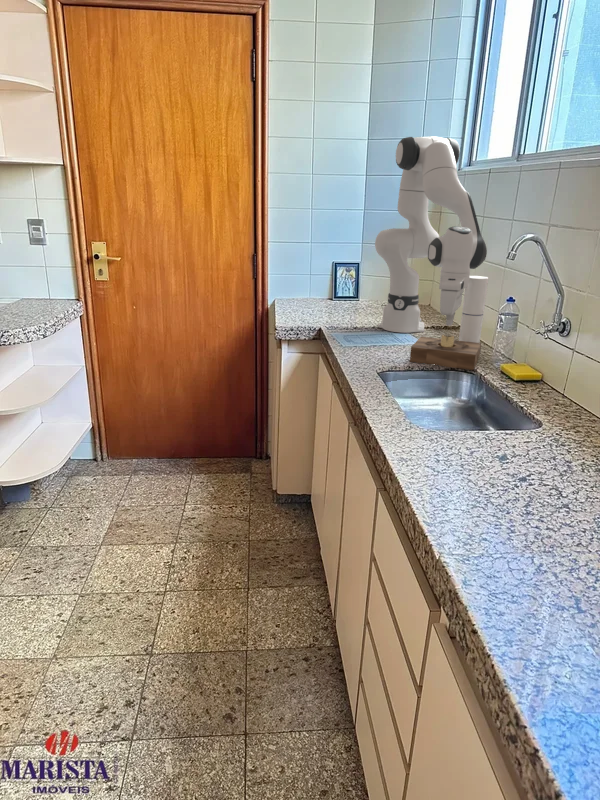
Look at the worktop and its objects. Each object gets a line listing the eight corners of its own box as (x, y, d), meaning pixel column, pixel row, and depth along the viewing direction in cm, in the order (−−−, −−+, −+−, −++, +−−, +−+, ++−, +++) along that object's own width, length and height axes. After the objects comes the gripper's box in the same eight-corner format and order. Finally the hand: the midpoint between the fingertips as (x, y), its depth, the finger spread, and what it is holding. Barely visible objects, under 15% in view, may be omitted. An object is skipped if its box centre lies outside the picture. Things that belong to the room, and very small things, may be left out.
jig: (419, 350, 192) (421, 336, 191) (479, 357, 185) (481, 343, 183) (409, 361, 178) (411, 346, 177) (473, 370, 171) (475, 354, 169)
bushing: (440, 357, 184) (442, 333, 181) (452, 359, 183) (455, 335, 180) (438, 360, 181) (440, 336, 178) (450, 361, 179) (453, 337, 177)
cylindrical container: (456, 349, 194) (465, 277, 186) (459, 345, 201) (467, 275, 192) (477, 352, 192) (487, 279, 183) (479, 347, 198) (489, 276, 190)
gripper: (449, 276, 183) (444, 318, 188) (438, 284, 165) (433, 329, 170) (468, 278, 181) (463, 319, 185) (460, 285, 163) (454, 331, 168)
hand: (449, 324), depth 178 cm, fingers closed
